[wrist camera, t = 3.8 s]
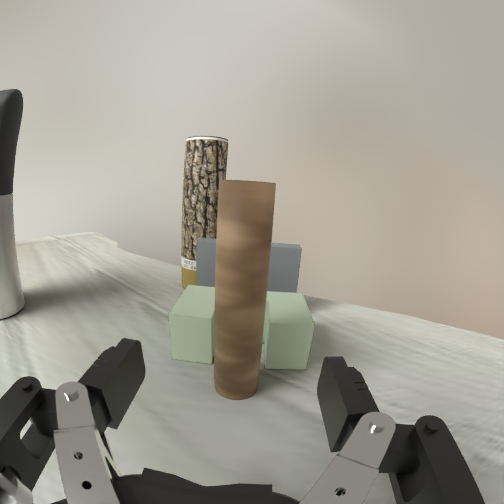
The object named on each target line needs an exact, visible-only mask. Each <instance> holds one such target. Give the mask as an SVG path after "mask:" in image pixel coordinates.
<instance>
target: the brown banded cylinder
mask: <svg viewBox="0 0 504 504" xmlns="http://www.w3.org/2000/svg"><path fill="white" fill-rule="evenodd" d="M275 186H276V184H275V183H267V182H256V181H240V180H219V194H218V213H217V235H216V264H215V310H214V378H215V389H216V391H217V392H218V393H219V394H220V395H221V396H223V397H225V398H228V399H233V400H241V399H246V398H249V397H251V396H252V395H253V394H254V393H255V392H256V391H257V386H258V377H259V368H260V358H261V348H262V339H263V328H264V318H265V308H266V297H267V286H268V275H269V263H270V251H271V239H272V226H273V214H274V201H275Z"/></svg>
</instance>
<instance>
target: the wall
mask: <svg viewBox="0 0 504 504" xmlns="http://www.w3.org/2000/svg"><path fill="white" fill-rule="evenodd" d="M301 250H302V249H301V247H300V245H295V244H282V243H271V251H270V263H269V275H268V286H267V291H273V292H290V293H296V292H297V284H298V276H299V268H300V259H301ZM215 264H216V239H210V238H200V239H199V240H198V241H197V246H196V286H207V287H215Z"/></svg>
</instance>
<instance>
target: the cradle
mask: <svg viewBox="0 0 504 504" xmlns="http://www.w3.org/2000/svg"><path fill="white" fill-rule="evenodd" d="M214 310H215V287H207V286H196V285H188V286H187V287H186V289H185V290H184V291H183V293H182V294H181V296H180V297H179V299H178V300H177V302H176V303H175V305H174V306H173V307H172V309H171V310H170V312H169V313H168V315H169V329H170V341H171V352H172V359H177V360H183V361H191V362H198V363H206V364H212V361H213V357H214ZM314 326H315V324H314V322H313V319H312V316H311V314H310V311H309V308H308V306H307V303H306V300H305V298H304V295H303V293H290V292H273V291H267V297H266V308H265V318H264V328H263V339H262V343H264V344H265V368H266V369H296V370H306V366H307V361H308V356H309V352H310V347H311V342H312V337H313V331H314Z"/></svg>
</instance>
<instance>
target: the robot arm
mask: <svg viewBox="0 0 504 504" xmlns="http://www.w3.org/2000/svg"><path fill="white" fill-rule="evenodd" d="M22 112H23V97H22V93H21V92H20V91H19V90H17V89H10V90H3V91H0V319H3V318H6V317H9V316H11V315H14V314H15V313H17V312H18V311H20V310H21V309H22V308H23V307H24V305H25V300H24V296H23V291H22V286H21V280H20V274H19V268H18V261H17V253H16V245H15V234H14V219H13V194H12V193H13V177H14V164H15V155H16V146H17V140H18V135H19V130H20V124H21V118H22ZM144 377H145V364H144V359H143V353H142V347H141V343H140V341H137V340H132V339H127V338H123V339H122V340H121V341H120V342H119V343H118V345H117V346H116V347H113V346H112V347H110V348H109V349H107V350H105V351H103V353H102V354H101V355H100V356H99V357H98V359H97V360H96V361H95V362H94V364H92V365H91V367H90V368H89V369H88V370H87V371H86V372H85V374H84V375H83V376H82V377H81V378H80V380H79V381H78V382H67V383H64V384H62V385H61V386H60V387H58V389H57V390H52V389H44V388H42V386H41V384H40V382H39V380H38V379H36V378H35V377H31V376H27V377H23V378H20V379H19V380H17V381H16V382H15V383H14V384H13V385H12V387H11V388H10V389H9V390H8V391H7V392H6V393H5V394H4V395H3V397H2V398H1V399H0V504H34V503H33V496H32V493H31V492H32V490H33V488H34V486H35V484H36V482H37V480H38V478H39V476H40V474H41V472H42V471H43V469H44V467H45V465H46V463H47V461H48V460H49V458H50V456H51V454H52V452H53V451H54V449H55V447H56V453H57V459H58V464H59V469H60V474H61V479H62V483H63V487H64V491H65V495H66V499H63V500H60V501H57V502H54V503H51V504H362V503H363V501H364V499H365V497H366V496H367V494H368V492H369V490H370V488H371V487H372V485H373V483H374V481H375V479H376V477H377V475H378V473H388V474H389V477H390V481H391V484H392V488H393V492H394V496H395V499H396V503H397V504H485V502H484V500H483V498H482V495H481V493H480V491H479V489H478V486H477V484H476V482H475V480H474V478H473V476H472V474H471V472H470V469H469V467H468V465H467V463H466V461H465V459H464V457H463V456H462V454H461V452H460V450H459V448H458V446H457V444H456V442H455V440H454V439H453V437H452V435H451V433H450V431H449V429H448V428H447V426H446V424H445V423H444V421H443V420H441V419H440V418H438V417H436V416H431V415H427V416H423V417H421V418H419V419H418V420H417V422H416V424H415V425H404V424H395V422H394V420H393V419H392V418H391V417H390V416H389V415H387V414H385V413H381V412H379V410H378V407H377V405H376V403H375V401H374V399H373V397H372V395H371V393H370V391H369V390H368V387H367V384H366V383H365V380H364V378H363V376H362V374H361V373H360V372H359V371H357V370H356V369H355V368H354V367H347V364H346V362H345V360H344V358H343V357H342V356H338V357H325V358H324V361H323V365H322V369H321V373H320V377H319V381H318V386H317V395H318V400H319V404H320V408H321V412H322V416H323V420H324V425H325V429H326V433H327V437H328V442H329V446H330V450H331V452H338V451H340V453H339V454H337V455H336V457H335V458H334V459H333V461H332V462H331V464H330V465H329V466H328V468H327V469H326V471H325V472H324V473H323V475H322V476H321V477H320V479H319V480H318V481H317V482H316V484H315V485H314V486H313V488H312V489H311V490H310V491H309V492H308V494H307V495H306V496H305V497H304V498H303V500H302V501H301V502H299V501H297V500H295V499H293V498H291V497H289V496H286V495H283V494H280V493H276V492H272V485H261V484H231V485H221V486H202V485H199V484H196V483H194V482H191V481H188V480H186V479H183V478H181V477H178V476H176V475H173V474H169V473H164V472H160V471H156V470H152V469H148V468H144V470H143V473H142V474H134V475H124V476H122V475H121V473H120V471H119V469H118V467H117V464H116V462H115V459H114V457H113V454H112V451H111V448H110V445H109V442H108V439H107V436H106V434H105V430H106V428H107V427H110V428H114V429H117V428H118V426H119V424H120V422H121V421H122V419H123V417H124V415H125V413H126V411H127V409H128V408H129V406H130V404H131V402H132V400H133V399H134V397H135V395H136V393H137V391H138V390H139V388H140V386H141V384H142V382H143V380H144ZM29 419H30V421H31V423H32V425H31V426H30V428H29V429H28V430H27V432H26V433H25V435H24V436H23V438H22V439H20V432H21V430H22V428H23V427H24V426H25V424H26V423H27V422H28V420H29Z"/></svg>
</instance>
